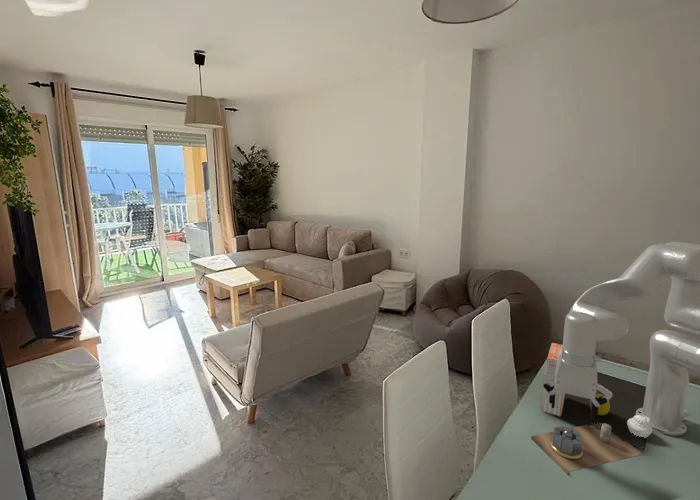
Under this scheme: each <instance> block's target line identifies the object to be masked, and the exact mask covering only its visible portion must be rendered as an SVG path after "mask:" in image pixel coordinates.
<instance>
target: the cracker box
mask: <svg viewBox="0 0 700 500" xmlns="http://www.w3.org/2000/svg"><path fill="white" fill-rule="evenodd" d="M562 348H563V344H560V343H555V342H552V343H551V345H550V348H549V352H548V354H547V357H546V365H545V366H546V367H545V375H549V374H554V373H555V369H556V364H557V360H558V357H559V355H562ZM547 383H548V384H549V385H550V386H552V385H554V380H549V381H547ZM565 397H566V393H562V392H557V393H556V394H555V406H554V408H552V404H551V403H549V398H550V395H549V392H548V391H547V390H546V389H545V388H544V387H543V400H542V412H543V413H544V412H546V413H547V414H550V415H554V416H556V417H560V418H562V414H563V409H564V403H565Z"/></svg>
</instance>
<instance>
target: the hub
mask: <svg viewBox="0 0 700 500" xmlns="http://www.w3.org/2000/svg"><path fill="white" fill-rule="evenodd" d="M562 436H563V437H564V438H566V439H569V440H573V434H572V432H571V431H569V430H564V431H563V433H562ZM550 447H551V449H552V450H553V451H554V452H555V453H556V454H557V455H559V456H561V457H563V458H566V459H569V460H579V459H581V458H582V457H583V450H582V448H581V454H580V455H577V456H569V455H566V454H563V453H561V452H559V451H558V450H557V449H556V448H555V447H554V446H553V438H551V439H550Z"/></svg>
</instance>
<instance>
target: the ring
mask: <svg viewBox="0 0 700 500" xmlns="http://www.w3.org/2000/svg"><path fill="white" fill-rule="evenodd" d="M571 428H572V427H568V426H567V427H566V426H564V425H563V426H562V425H560V426H554V427H553V432H554V434H553V446H554V447H555V448H556V449H557V450H558V451H559V452H561V453H563V454H566V455H569V456H577V455H580V454H581V448H582V436H581V435H580V434H579V433H577V432H576V431H575V430H573V429H571ZM564 430H569V431H571V432H572V434H573V440H569V439H566V438H564V437H563V436H562V433H563V431H564Z"/></svg>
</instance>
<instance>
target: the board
mask: <svg viewBox="0 0 700 500" xmlns="http://www.w3.org/2000/svg"><path fill="white" fill-rule="evenodd" d="M593 423H594V424H595V423H597V425H598V424H599V423H600V425H602V426H601V430H598V429H596V428H595V427H594V426H593V427H592V426H591V425H590V426H587V425H588V424H584V425H580V426H579V425H578V426H575V427H570V428H571V429H573V430H575V431H576V432H577V433H579V434H580V435H581V436H582V450H583V457H582V458H581V459H579V460H569V459H566V458H563V457H561V456H559V455H557V454H556V453H555V452H554V451H553V450H552V449H551V447H550V439H551V438H553V434H554V431H550V432H549V431H548V432H544V433H540V434H539V433H538V434H535V435H531V437H530V440H531V441H532V442H533V443H535V444H536V445H537V446H538V447H539V448H540V449H541V450H542V451H543V452H544V453H545V454H546V455H547V457H549V459H551V460H552V461H553V462H554V463H555V464H556V465H557V466H558V467H559V468H560V469H561V470H562V471H563V472H564V473H565V474H567V475H568V476H569V475H571V473H570V472H575V471H578V470H583V469H588V468H591V467H595V466H596V467H597V466H600V465H603V464H608V463H609V464H610V463H613V462H617V461H621V460H625V459H629V458H630V459H631V458H635V457H638V456H642V455H644V453H643V452H642V451H640V450H639V449H637V448H636V447H634V446H633V445H632V444H630V442H628V441H626V440H625V441H626V442H625V441H622V440H621V439H619V438H617V437H616V436H615V435H613V434H611V431H612V425H610V424H607V423H606V422H605V423H601V421H599V422H593ZM599 428H600V426H599ZM627 442H628V443H627Z"/></svg>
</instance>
